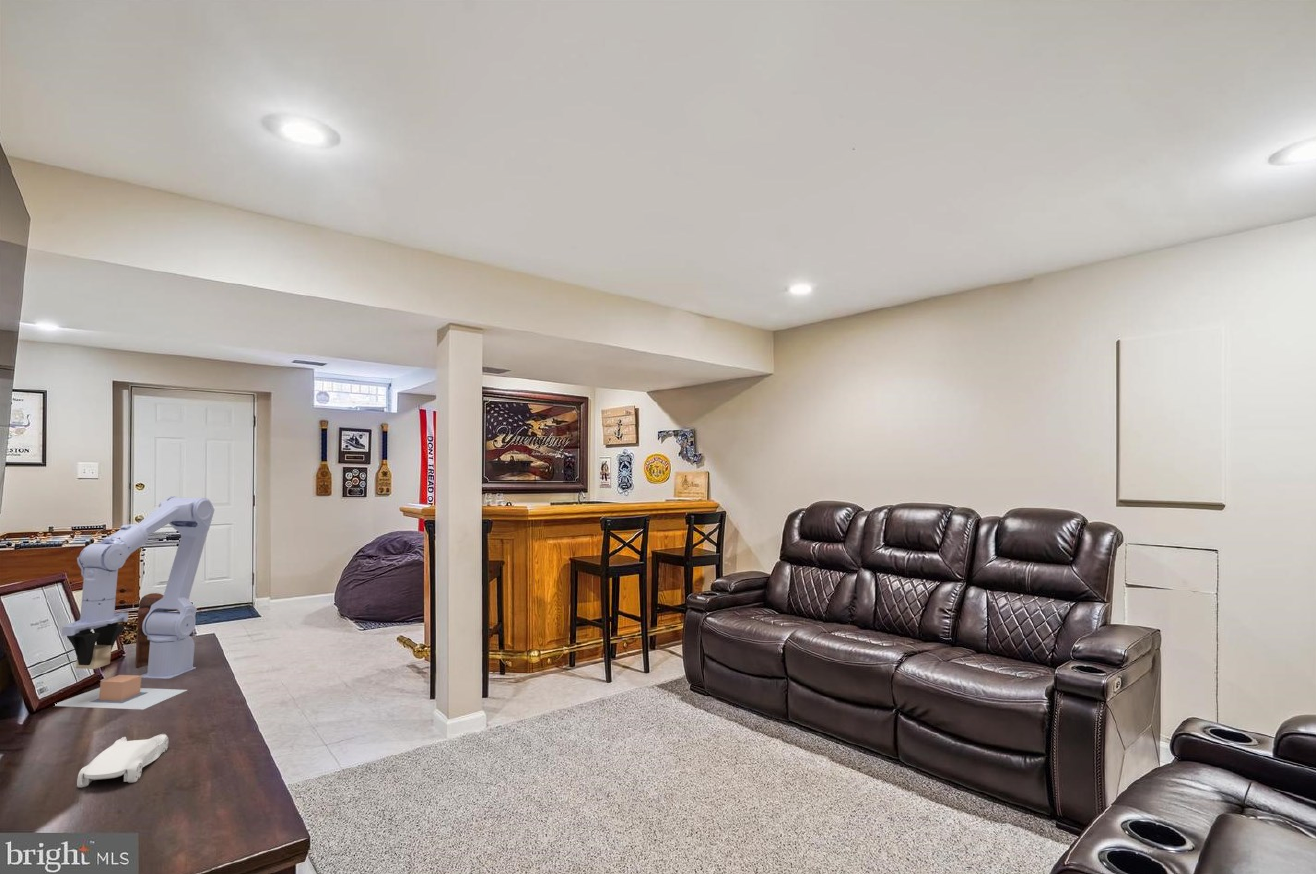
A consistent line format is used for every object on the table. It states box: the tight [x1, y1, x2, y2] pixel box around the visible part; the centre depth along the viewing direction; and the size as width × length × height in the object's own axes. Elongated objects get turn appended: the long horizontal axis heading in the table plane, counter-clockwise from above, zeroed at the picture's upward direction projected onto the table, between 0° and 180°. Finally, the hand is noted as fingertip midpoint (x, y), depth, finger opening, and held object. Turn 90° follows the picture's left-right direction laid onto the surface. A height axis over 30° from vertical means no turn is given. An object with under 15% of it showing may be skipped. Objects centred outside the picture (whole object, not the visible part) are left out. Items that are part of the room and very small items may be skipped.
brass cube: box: [75, 644, 112, 670], centre depth 145 cm, size 4×4×4 cm
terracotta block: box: [99, 674, 142, 701], centre depth 146 cm, size 5×5×4 cm
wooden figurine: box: [135, 592, 164, 669], centre depth 175 cm, size 12×6×18 cm, turn 36°
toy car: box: [76, 733, 169, 789], centre depth 114 cm, size 18×8×4 cm, turn 19°
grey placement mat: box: [54, 687, 188, 710], centre depth 146 cm, size 13×20×1 cm, turn 89°
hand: (93, 661), depth 145 cm, fingers closed on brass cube, 4 cm apart
